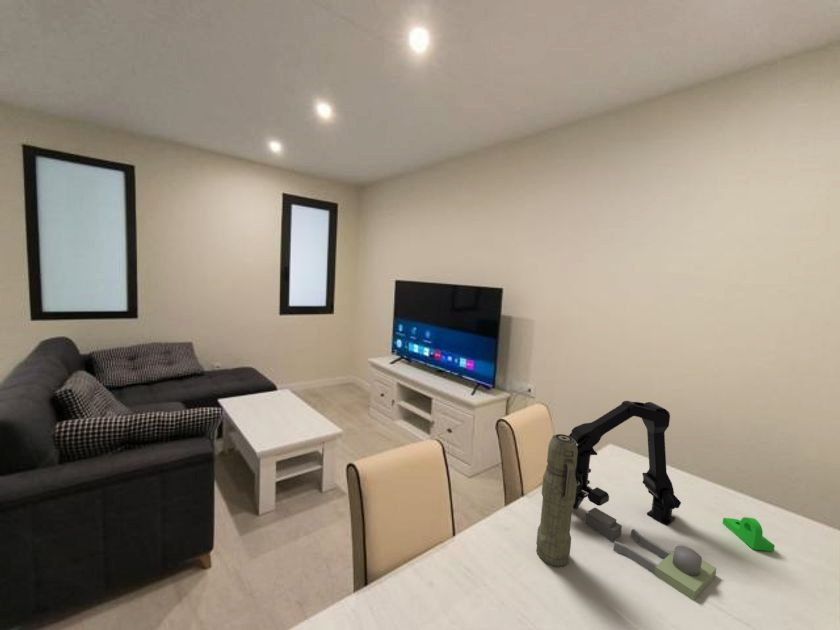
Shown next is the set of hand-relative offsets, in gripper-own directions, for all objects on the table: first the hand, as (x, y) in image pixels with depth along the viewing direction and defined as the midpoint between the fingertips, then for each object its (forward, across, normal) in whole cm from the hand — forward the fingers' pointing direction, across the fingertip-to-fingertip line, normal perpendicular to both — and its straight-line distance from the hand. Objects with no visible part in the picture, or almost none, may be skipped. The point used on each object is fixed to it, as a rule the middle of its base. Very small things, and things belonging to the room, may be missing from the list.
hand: (575, 508), depth 121 cm
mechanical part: (+2, +35, +40) cm, 54 cm away
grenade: (+2, +8, -24) cm, 26 cm away
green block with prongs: (+2, +31, 0) cm, 31 cm away
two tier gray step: (+2, +10, 0) cm, 10 cm away
